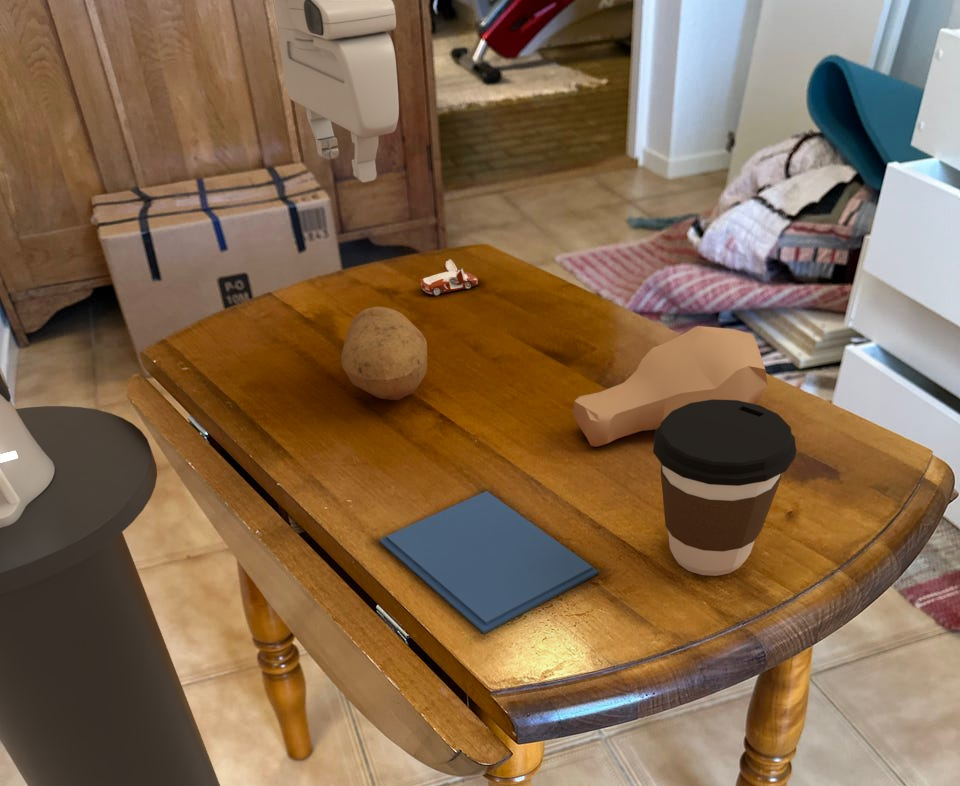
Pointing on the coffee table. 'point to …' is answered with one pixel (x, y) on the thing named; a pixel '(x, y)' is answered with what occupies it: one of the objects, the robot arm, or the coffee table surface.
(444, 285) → the toy car
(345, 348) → the potato
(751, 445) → the coffee cup
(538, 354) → the coffee table surface
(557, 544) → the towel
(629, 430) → the squash
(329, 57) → the robot arm
